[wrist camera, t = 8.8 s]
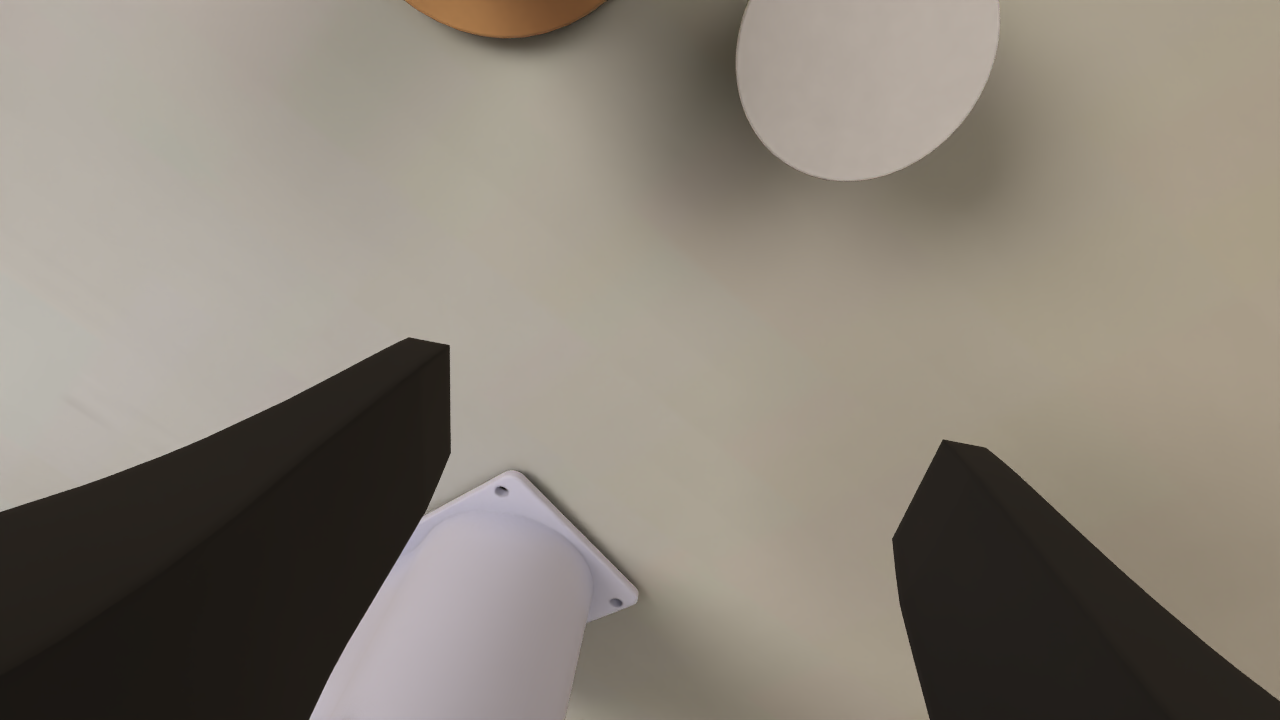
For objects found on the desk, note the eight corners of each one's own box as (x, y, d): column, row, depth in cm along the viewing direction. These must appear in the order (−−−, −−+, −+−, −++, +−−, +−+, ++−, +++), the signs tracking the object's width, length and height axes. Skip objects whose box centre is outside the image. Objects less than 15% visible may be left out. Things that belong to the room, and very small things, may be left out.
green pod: (795, 169, 18) (812, 225, 14) (697, 8, 16) (687, 25, 12) (970, 57, 16) (1041, 88, 12) (880, -138, 14) (932, -171, 10)
